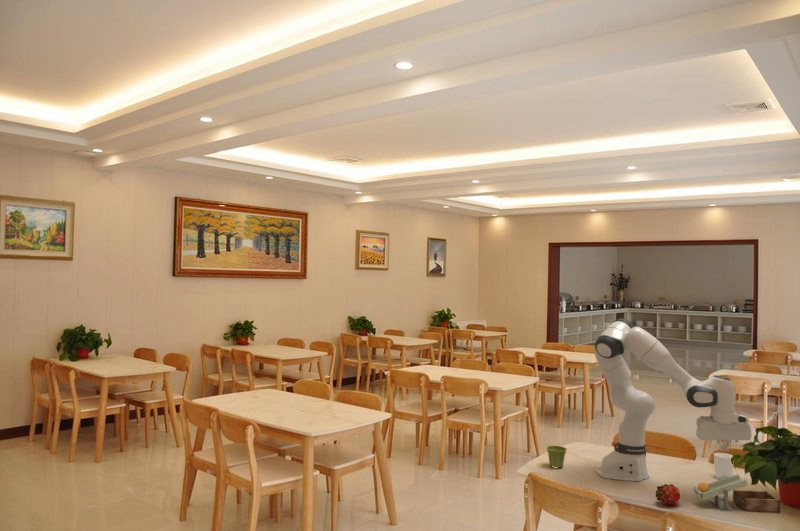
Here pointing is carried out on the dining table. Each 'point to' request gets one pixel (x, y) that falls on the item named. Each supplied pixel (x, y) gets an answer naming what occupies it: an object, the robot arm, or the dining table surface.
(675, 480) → the dining table surface
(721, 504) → the fulcrum
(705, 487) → the ball
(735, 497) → the tray
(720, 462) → the white cup
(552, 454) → the plant pot
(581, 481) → the dining table surface
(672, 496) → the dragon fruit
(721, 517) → the dining table surface
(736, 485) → the lever
